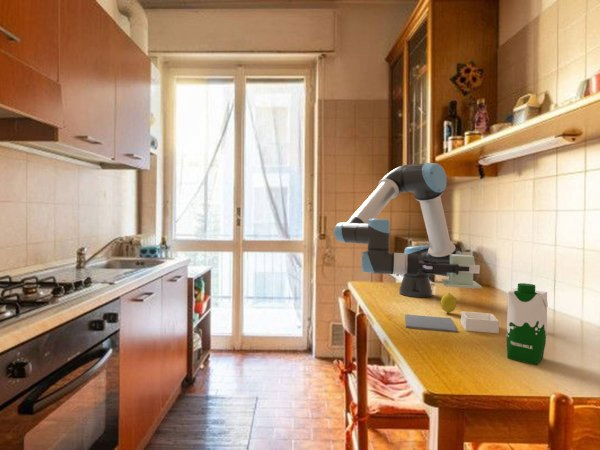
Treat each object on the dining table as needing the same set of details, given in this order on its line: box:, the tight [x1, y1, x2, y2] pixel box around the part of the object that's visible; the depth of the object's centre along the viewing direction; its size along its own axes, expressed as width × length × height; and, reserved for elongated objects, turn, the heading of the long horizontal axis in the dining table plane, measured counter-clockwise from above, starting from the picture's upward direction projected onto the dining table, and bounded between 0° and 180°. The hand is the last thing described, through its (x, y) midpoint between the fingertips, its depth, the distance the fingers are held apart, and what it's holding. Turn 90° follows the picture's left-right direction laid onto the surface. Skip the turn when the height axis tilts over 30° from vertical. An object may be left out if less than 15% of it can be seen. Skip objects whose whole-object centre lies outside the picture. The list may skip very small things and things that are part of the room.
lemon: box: [440, 292, 457, 314], centre depth 153 cm, size 6×6×8 cm
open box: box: [460, 310, 500, 334], centre depth 134 cm, size 10×10×4 cm
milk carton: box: [506, 282, 548, 366], centre depth 106 cm, size 9×9×20 cm
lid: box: [440, 254, 483, 289], centre depth 135 cm, size 11×11×10 cm
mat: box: [404, 313, 458, 333], centre depth 138 cm, size 16×16×1 cm
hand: (476, 267), depth 134 cm, fingers closed on lid, 7 cm apart
